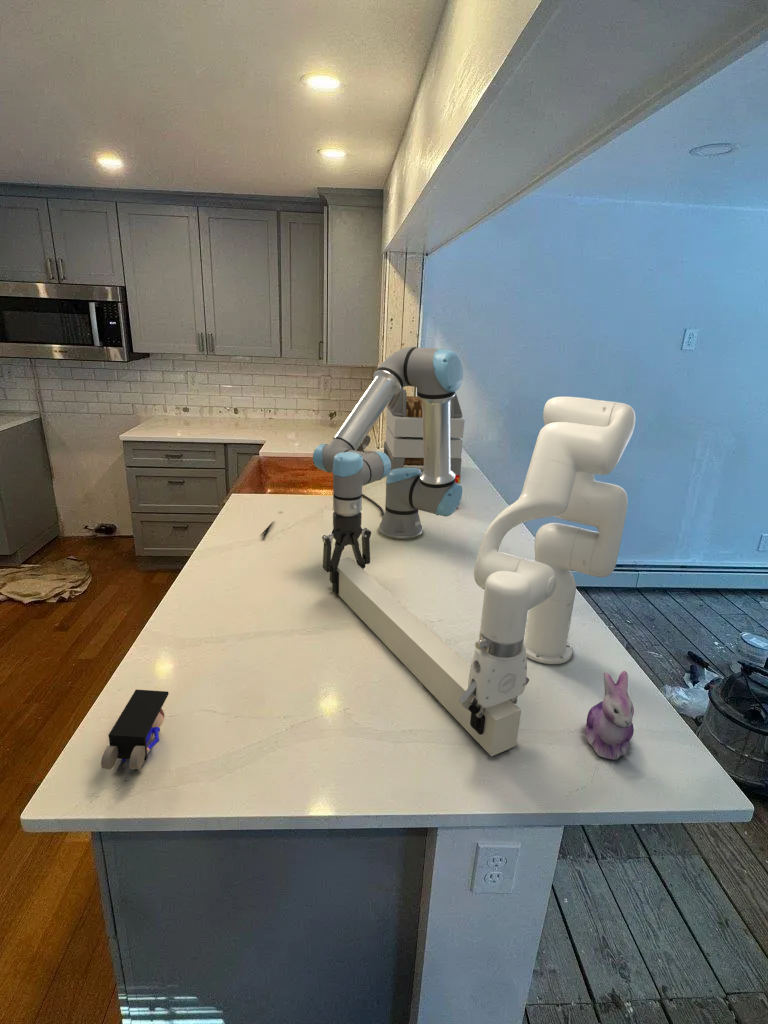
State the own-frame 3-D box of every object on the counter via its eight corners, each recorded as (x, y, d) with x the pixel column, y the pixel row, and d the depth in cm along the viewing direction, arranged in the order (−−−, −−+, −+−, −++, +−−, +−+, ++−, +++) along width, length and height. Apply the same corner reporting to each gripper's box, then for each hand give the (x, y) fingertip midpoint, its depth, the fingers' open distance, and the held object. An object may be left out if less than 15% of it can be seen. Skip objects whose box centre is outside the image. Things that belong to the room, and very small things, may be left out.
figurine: (612, 770, 99) (628, 699, 94) (570, 732, 108) (582, 666, 103) (649, 753, 104) (666, 685, 99) (605, 718, 112) (619, 654, 107)
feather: (281, 515, 215) (284, 511, 215) (262, 541, 189) (264, 536, 188) (277, 512, 215) (280, 508, 215) (257, 538, 189) (260, 534, 188)
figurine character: (145, 787, 93) (174, 717, 107) (138, 755, 90) (169, 687, 103) (104, 787, 93) (138, 716, 107) (95, 754, 90) (132, 686, 103)
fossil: (346, 440, 314) (367, 425, 309) (357, 454, 317) (378, 439, 312) (340, 454, 295) (362, 438, 290) (351, 468, 298) (374, 453, 293)
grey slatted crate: (382, 463, 289) (386, 382, 275) (445, 464, 293) (451, 384, 279) (390, 482, 257) (394, 392, 243) (460, 483, 261) (468, 394, 247)
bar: (330, 587, 159) (330, 560, 156) (349, 582, 162) (349, 557, 159) (491, 756, 101) (495, 720, 98) (516, 745, 104) (521, 709, 101)
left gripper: (319, 521, 141) (320, 603, 150) (385, 511, 150) (382, 588, 158) (308, 512, 147) (309, 590, 156) (372, 502, 156) (370, 577, 164)
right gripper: (474, 665, 92) (465, 753, 98) (553, 639, 99) (539, 722, 106) (447, 642, 98) (440, 725, 104) (524, 619, 106) (513, 698, 112)
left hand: (346, 589), depth 157 cm, fingers closed on bar, 6 cm apart
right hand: (490, 723), depth 105 cm, fingers closed on bar, 5 cm apart
